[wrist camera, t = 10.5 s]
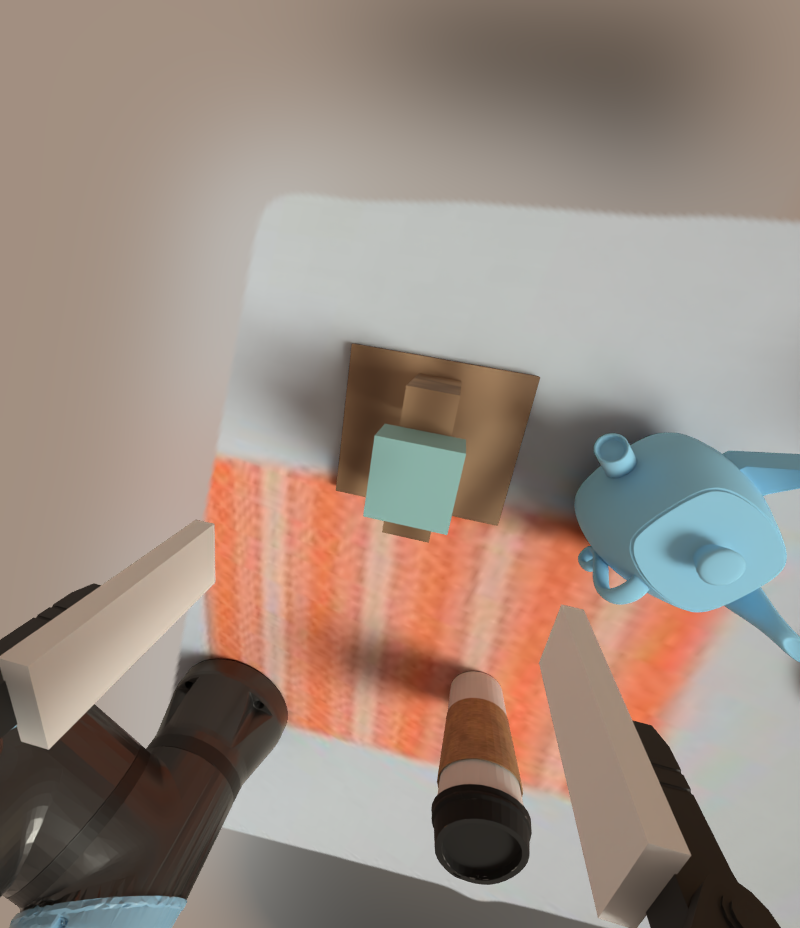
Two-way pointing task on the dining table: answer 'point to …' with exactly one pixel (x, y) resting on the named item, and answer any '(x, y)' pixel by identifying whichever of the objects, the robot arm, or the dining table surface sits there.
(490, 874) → the coffee cup
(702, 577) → the teapot
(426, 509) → the peg
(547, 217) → the dining table surface
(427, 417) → the bracket
